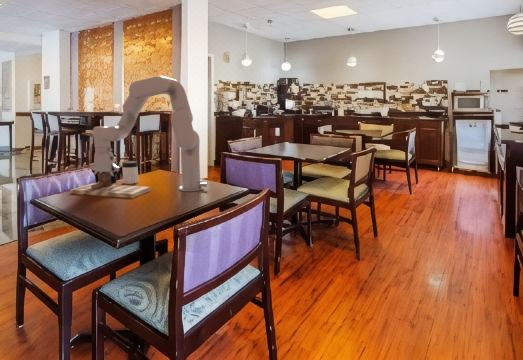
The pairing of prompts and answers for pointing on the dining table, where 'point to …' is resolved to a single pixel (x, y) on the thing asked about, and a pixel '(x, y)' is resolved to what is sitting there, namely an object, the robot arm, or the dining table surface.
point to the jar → (130, 172)
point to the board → (112, 190)
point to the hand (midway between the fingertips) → (105, 182)
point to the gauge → (103, 180)
